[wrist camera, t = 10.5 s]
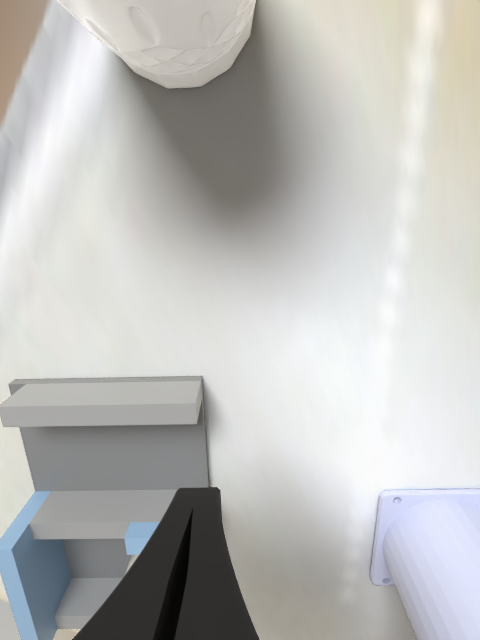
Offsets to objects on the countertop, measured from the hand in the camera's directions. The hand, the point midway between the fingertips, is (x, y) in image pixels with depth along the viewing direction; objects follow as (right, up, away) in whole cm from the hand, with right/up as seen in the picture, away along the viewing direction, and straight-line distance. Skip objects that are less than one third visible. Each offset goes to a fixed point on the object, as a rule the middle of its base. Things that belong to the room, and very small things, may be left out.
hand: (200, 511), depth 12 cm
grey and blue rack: (-6, -5, +11) cm, 14 cm away
